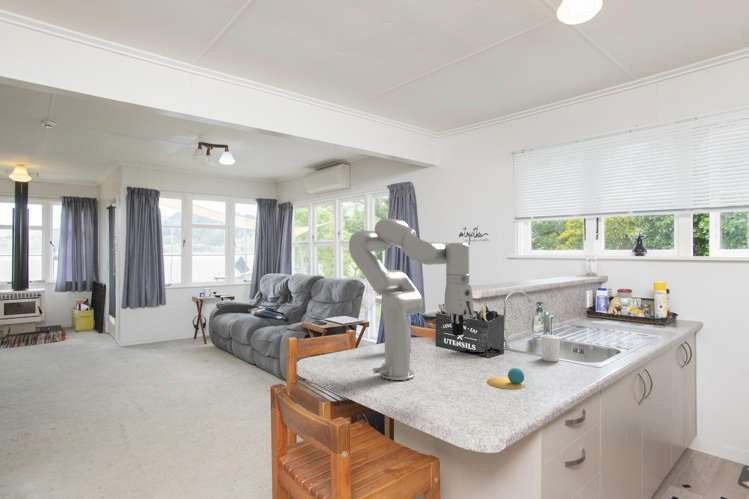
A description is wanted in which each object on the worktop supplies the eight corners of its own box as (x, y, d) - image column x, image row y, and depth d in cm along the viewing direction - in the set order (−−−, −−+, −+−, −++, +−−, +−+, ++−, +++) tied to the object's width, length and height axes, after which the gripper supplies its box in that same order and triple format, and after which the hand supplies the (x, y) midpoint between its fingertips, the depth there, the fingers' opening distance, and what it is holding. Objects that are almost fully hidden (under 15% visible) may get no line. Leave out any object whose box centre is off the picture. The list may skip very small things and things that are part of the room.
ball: (527, 369, 144) (528, 385, 144) (517, 365, 149) (518, 380, 149) (513, 371, 143) (514, 387, 143) (504, 367, 148) (505, 382, 148)
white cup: (548, 362, 173) (548, 338, 174) (536, 357, 181) (536, 335, 181) (564, 361, 176) (564, 337, 176) (551, 356, 183) (551, 333, 183)
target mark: (505, 391, 138) (505, 390, 138) (479, 380, 150) (479, 380, 150) (533, 385, 144) (533, 384, 144) (506, 375, 156) (506, 375, 156)
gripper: (481, 280, 133) (482, 338, 133) (452, 278, 146) (453, 330, 146) (463, 281, 129) (463, 340, 129) (435, 278, 143) (435, 332, 143)
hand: (458, 334), depth 138 cm, fingers closed
